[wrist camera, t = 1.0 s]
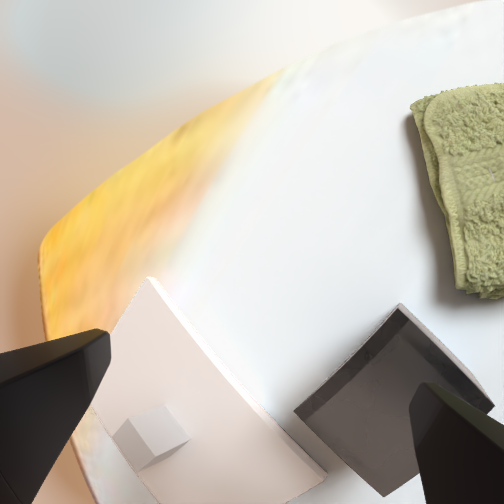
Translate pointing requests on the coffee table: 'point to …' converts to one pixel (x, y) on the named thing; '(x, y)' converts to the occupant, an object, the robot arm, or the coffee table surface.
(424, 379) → the dark grey framed cube
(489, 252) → the washcloth
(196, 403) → the post plate
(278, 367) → the coffee table surface
